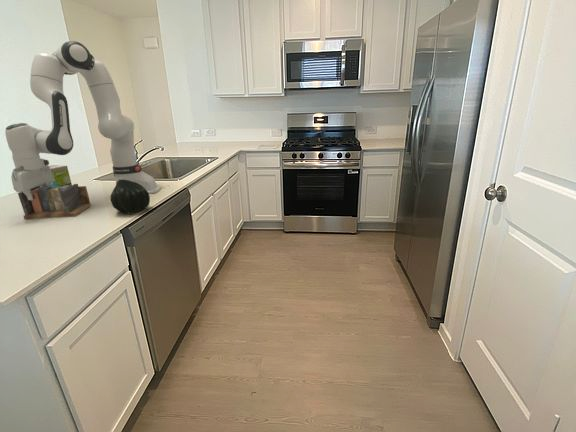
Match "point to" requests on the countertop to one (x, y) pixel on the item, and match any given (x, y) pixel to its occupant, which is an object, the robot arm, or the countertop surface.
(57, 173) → the tea box
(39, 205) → the terracotta rectangular block
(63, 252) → the countertop surface
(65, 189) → the rack
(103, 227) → the countertop surface
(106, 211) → the countertop surface
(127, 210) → the squash
